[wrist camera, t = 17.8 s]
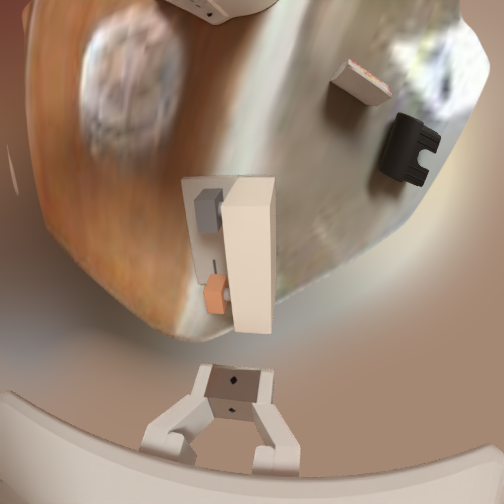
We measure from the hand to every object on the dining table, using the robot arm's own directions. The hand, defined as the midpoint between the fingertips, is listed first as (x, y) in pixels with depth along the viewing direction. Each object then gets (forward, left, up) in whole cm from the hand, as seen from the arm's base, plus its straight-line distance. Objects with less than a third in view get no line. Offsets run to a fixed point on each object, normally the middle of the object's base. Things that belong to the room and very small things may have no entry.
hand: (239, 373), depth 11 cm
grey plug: (-5, -10, -34) cm, 35 cm away
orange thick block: (+2, -24, -34) cm, 41 cm away
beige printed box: (+4, +17, -39) cm, 43 cm away
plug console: (-1, -16, -39) cm, 42 cm away
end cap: (+16, +13, -39) cm, 45 cm away
